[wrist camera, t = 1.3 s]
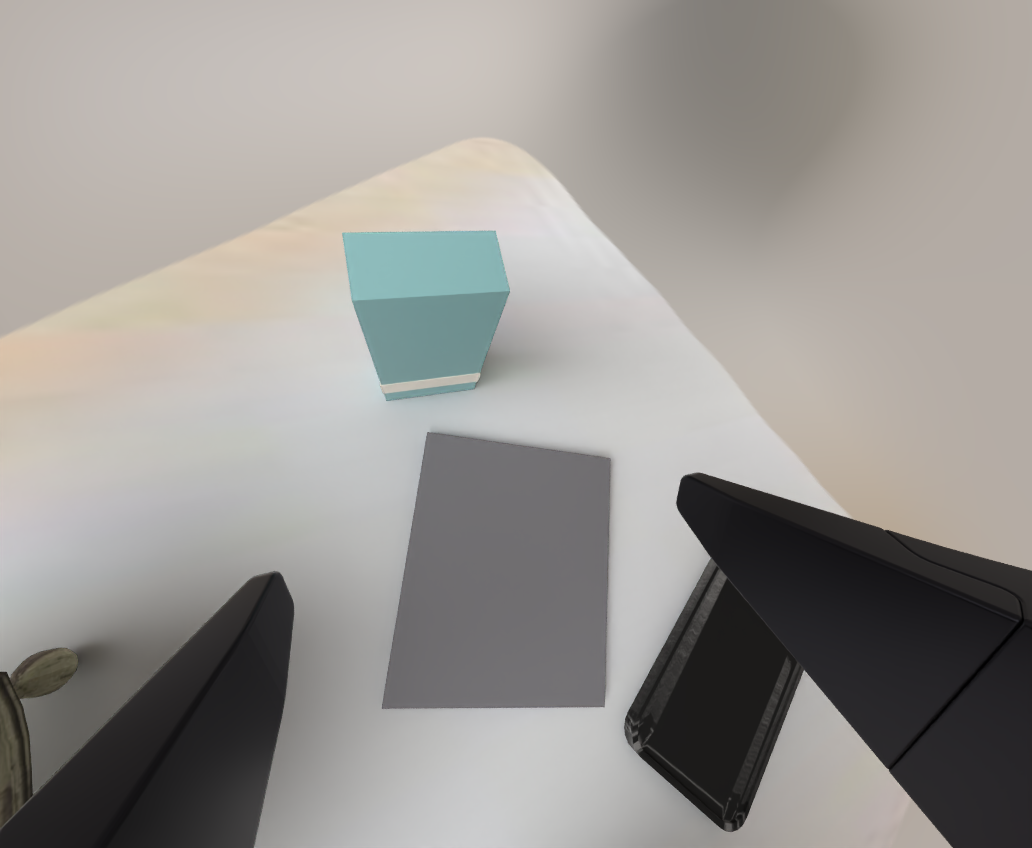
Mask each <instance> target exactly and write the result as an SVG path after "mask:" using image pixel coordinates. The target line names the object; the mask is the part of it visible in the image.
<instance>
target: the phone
mask: <svg viewBox="0 0 1032 848" xmlns="http://www.w3.org/2000/svg"><path fill="white" fill-rule="evenodd" d="M803 671H804V669H803V668H802V666H801V665H800V664H799V663H798V662H797V660H796V659H795V658H794V657H793V656H792V654H791V653H790V652H789V651H788V650H787V649H786V647H785V646H784V645H783V644H782V643H781V641H780V640H779V639H778V638H777V637H776V635H775V634H774V633H773V632H772V631H771V629H770V628H769V627H768V626H767V625H766V623H765V622H764V621H763V620H762V619H761V617H760V616H759V615H758V614H757V613H756V611H755V610H754V609H753V608H752V607H751V606H750V604H749V603H748V602H747V601H746V600H745V598H744V597H743V596H742V595H741V594H740V592H739V591H738V590H737V589H736V588H735V586H734V585H733V584H732V583H731V582H730V580H729V579H728V578H727V577H726V576H725V574H724V573H723V572H722V571H721V570H720V568H719V567H718V566H717V565H716V563H715V562H714V561H713V559H712V558H711V559H710V561H709V563H708V565H707V567H706V568H705V570H704V572H703V574H702V576H701V578H700V580H699V581H698V583H697V585H696V587H695V589H694V591H693V592H692V594H691V596H690V598H689V600H688V602H687V604H686V605H685V607H684V609H683V611H682V613H681V615H680V617H679V618H678V620H677V622H676V624H675V626H674V628H673V630H672V631H671V633H670V635H669V637H668V639H667V641H666V643H665V644H664V646H663V648H662V650H661V652H660V654H659V656H658V657H657V659H656V661H655V663H654V665H653V667H652V668H651V670H650V672H649V674H648V676H647V678H646V680H645V681H644V683H643V685H642V687H641V689H640V691H639V693H638V694H637V696H636V698H635V700H634V702H633V704H632V706H631V707H630V709H629V711H628V713H627V716H626V719H625V726H624V729H625V736H626V738H627V741H628V743H629V744H630V745H631V747H632V748H633V749H634V750H635V751H636V752H637V754H638V755H639V756H640V757H641V758H642V759H643V760H644V761H646V762H647V763H648V764H649V765H650V766H651V767H652V768H653V769H655V770H656V771H657V772H658V773H659V774H660V775H661V776H662V777H664V778H665V779H666V780H667V781H668V782H669V783H670V784H671V785H673V786H674V787H675V788H676V789H677V790H678V791H679V792H680V793H682V794H683V795H684V796H685V797H686V798H687V799H688V800H689V801H691V802H692V803H693V804H694V805H695V806H696V807H697V808H698V809H700V810H701V811H702V812H703V813H704V814H705V815H706V816H707V817H709V818H710V819H711V820H712V821H713V822H714V823H715V824H716V825H717V826H719V827H720V828H721V829H723V830H725V831H728V832H733V831H736V830H738V829H739V828H740V827H741V826H742V825H743V824H744V822H745V820H746V818H747V816H748V813H749V811H750V808H751V805H752V803H753V800H754V798H755V795H756V792H757V790H758V787H759V785H760V782H761V779H762V777H763V774H764V772H765V769H766V766H767V764H768V761H769V759H770V756H771V753H772V751H773V748H774V746H775V743H776V741H777V738H778V735H779V733H780V730H781V728H782V725H783V722H784V720H785V717H786V715H787V712H788V709H789V707H790V704H791V702H792V699H793V697H794V694H795V691H796V689H797V686H798V684H799V681H800V678H801V676H802V673H803Z"/></svg>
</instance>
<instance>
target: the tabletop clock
mask: <svg viewBox="0 0 1032 848" xmlns="http://www.w3.org/2000/svg"><path fill="white" fill-rule="evenodd" d="M77 666H78V658H77V655H76V654H75V653H74V652H73V651H71V650H69V649H67V648H56V649H51V650H46V651H42V652H39V653H36V654H34V655H32V656H30V657H29V658H27V659H26V660H24V661H23V662H22V663H21V664H20V665H19V667H18V668H17V669H16V670H15V671H14V672H13V674H12V675H11V678H9V676H8V674H7V672H0V828H1V827H2V826H3V825H4V824H5V823H6V822H7V821H8V820H9V819H10V818H11V817H12V816H13V815H14V814H15V813H16V812H17V811H18V810H19V809H20V808H21V807H22V806H23V805H24V804H25V803H26V802H27V801H28V800H29V799H30V798H31V797H32V796H33V793H32V768H31V752H30V739H29V731H28V727H27V723H26V718H25V714H24V709H23V706H22V704H21V702H20V699H24V698H34V697H40V696H43V695H47V694H50V693H52V692H54V691H56V690H58V689H59V688H61V687H62V686H63V685H64V684H65V683H67V681H68V680H69V679H70V678H71V677H72V676H73V674H74V673H75V672H76V670H77Z"/></svg>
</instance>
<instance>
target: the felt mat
mask: <svg viewBox="0 0 1032 848" xmlns="http://www.w3.org/2000/svg"><path fill="white" fill-rule="evenodd" d="M609 495H610V458H604V457H597V456H590V455H583V454H576V453H569V452H562V451H555V450H548V449H541V448H534V447H527V446H520V445H513V444H506V443H499V442H492V441H485V440H478V439H471V438H464V437H457V436H450V435H443V434H436V433H429V432H427V437H426V443H425V449H424V456H423V462H422V468H421V474H420V480H419V486H418V492H417V498H416V504H415V510H414V516H413V522H412V528H411V534H410V540H409V546H408V552H407V558H406V565H405V571H404V577H403V583H402V589H401V595H400V601H399V607H398V613H397V619H396V625H395V631H394V637H393V643H392V649H391V655H390V661H389V667H388V673H387V680H386V686H385V692H384V698H383V704H382V709H390V708H537V707H604V706H605V664H606V622H607V579H608V537H609Z"/></svg>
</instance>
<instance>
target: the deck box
mask: <svg viewBox="0 0 1032 848" xmlns="http://www.w3.org/2000/svg"><path fill="white" fill-rule="evenodd" d="M342 235H343V242H344V249H345V256H346V263H347V269H348V276H349V283H350V290H351V297H352V302H353V305H354V308H355V311H356V314H357V317H358V319H359V322H360V325H361V328H362V331H363V334H364V337H365V340H366V343H367V345H368V348H369V351H370V354H371V357H372V360H373V363H374V366H375V369H376V371H377V374H378V377H379V381H380V387H381V389H382V392H383V394H384V395H385V397H386V400H387V401H389V400H397V399H404V398H411V397H419V396H426V395H434V394H441V393H448V392H456V391H463V390H470V389H474V387H475V385H476V382H478V380H479V377H480V375H481V372H480V371H481V368H482V366H483V363H484V360H485V357H486V355H487V352H488V349H489V347H490V344H491V341H492V338H493V336H494V333H495V330H496V328H497V325H498V322H499V320H500V317H501V314H502V311H503V309H504V306H505V303H506V301H507V298H508V295H509V292H510V289H509V285H508V281H507V277H506V273H505V268H504V264H503V260H502V256H501V252H500V248H499V243H498V239H497V235H496V231H437V232H361V233H342Z"/></svg>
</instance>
